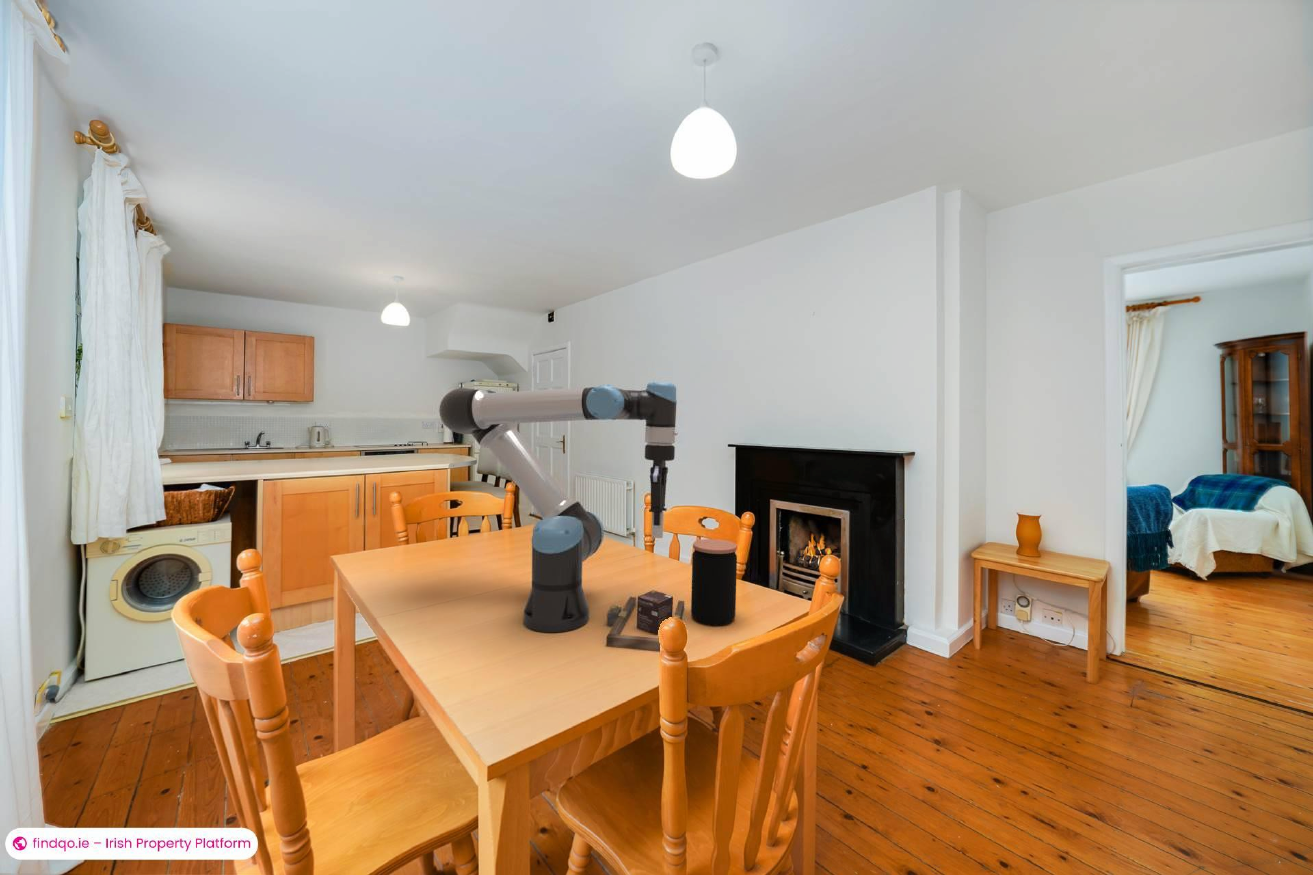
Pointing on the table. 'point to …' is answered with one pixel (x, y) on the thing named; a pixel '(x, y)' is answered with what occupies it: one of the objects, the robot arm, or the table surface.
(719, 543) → the coffee jar
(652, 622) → the box
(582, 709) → the table surface
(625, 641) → the brown angular bar frame
